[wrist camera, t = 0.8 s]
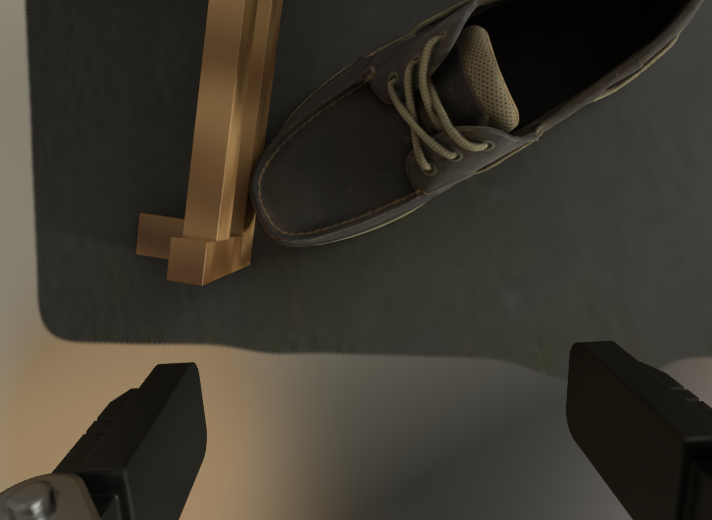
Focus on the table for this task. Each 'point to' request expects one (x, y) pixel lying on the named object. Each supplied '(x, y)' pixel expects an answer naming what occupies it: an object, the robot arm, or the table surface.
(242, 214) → the wooden display stand
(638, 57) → the boat shoe
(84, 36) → the table surface
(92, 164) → the table surface
